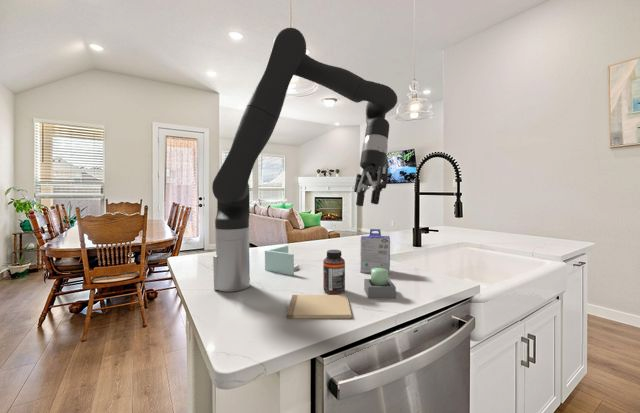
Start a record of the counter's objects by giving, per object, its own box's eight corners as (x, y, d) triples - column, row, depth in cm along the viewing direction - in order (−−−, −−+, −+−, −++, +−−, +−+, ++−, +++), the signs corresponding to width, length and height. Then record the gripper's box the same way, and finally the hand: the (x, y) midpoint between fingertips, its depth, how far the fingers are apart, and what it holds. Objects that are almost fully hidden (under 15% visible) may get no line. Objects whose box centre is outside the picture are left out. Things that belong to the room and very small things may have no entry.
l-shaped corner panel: (292, 277, 95) (292, 254, 95) (265, 271, 101) (264, 250, 101) (312, 268, 105) (312, 248, 105) (286, 264, 112) (286, 245, 111)
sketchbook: (286, 318, 62) (286, 314, 62) (292, 298, 74) (292, 294, 74) (351, 318, 62) (351, 314, 62) (346, 297, 74) (346, 294, 74)
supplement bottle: (322, 288, 82) (322, 248, 81) (343, 287, 82) (343, 248, 82) (324, 295, 76) (324, 253, 75) (346, 294, 76) (346, 252, 76)
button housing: (368, 298, 74) (368, 287, 74) (364, 289, 81) (364, 278, 81) (395, 298, 74) (395, 287, 73) (389, 289, 81) (389, 278, 80)
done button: (372, 285, 75) (372, 272, 75) (369, 280, 79) (369, 267, 79) (389, 285, 75) (389, 272, 75) (385, 280, 79) (385, 267, 79)
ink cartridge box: (389, 270, 101) (389, 229, 100) (390, 274, 95) (390, 231, 95) (361, 268, 103) (361, 228, 102) (360, 273, 97) (360, 230, 97)
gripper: (352, 155, 93) (344, 204, 91) (376, 143, 80) (368, 200, 78) (372, 161, 96) (365, 208, 93) (398, 150, 82) (391, 205, 80)
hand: (366, 204), depth 85 cm, fingers open, 8 cm apart
